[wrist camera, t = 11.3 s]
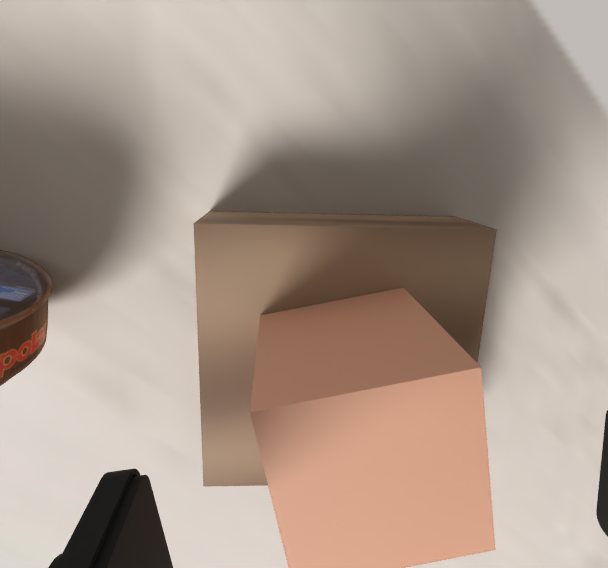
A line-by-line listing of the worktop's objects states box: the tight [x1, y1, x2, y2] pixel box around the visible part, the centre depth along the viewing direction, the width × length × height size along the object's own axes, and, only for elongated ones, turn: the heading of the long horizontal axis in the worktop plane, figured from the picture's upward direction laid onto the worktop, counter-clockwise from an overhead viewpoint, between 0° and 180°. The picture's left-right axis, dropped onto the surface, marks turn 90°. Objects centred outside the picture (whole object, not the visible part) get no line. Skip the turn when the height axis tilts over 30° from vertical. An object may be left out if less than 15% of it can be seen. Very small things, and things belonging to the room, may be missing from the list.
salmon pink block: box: [250, 288, 495, 568], centre depth 13 cm, size 5×5×6 cm
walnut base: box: [194, 211, 496, 486], centre depth 18 cm, size 10×10×4 cm
